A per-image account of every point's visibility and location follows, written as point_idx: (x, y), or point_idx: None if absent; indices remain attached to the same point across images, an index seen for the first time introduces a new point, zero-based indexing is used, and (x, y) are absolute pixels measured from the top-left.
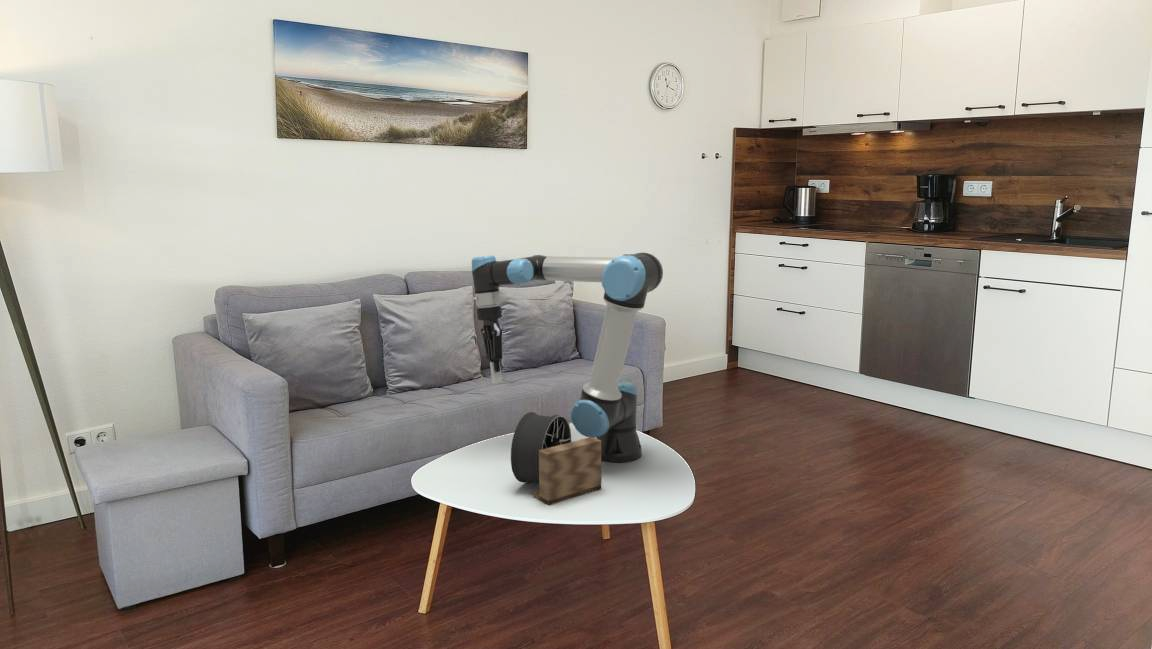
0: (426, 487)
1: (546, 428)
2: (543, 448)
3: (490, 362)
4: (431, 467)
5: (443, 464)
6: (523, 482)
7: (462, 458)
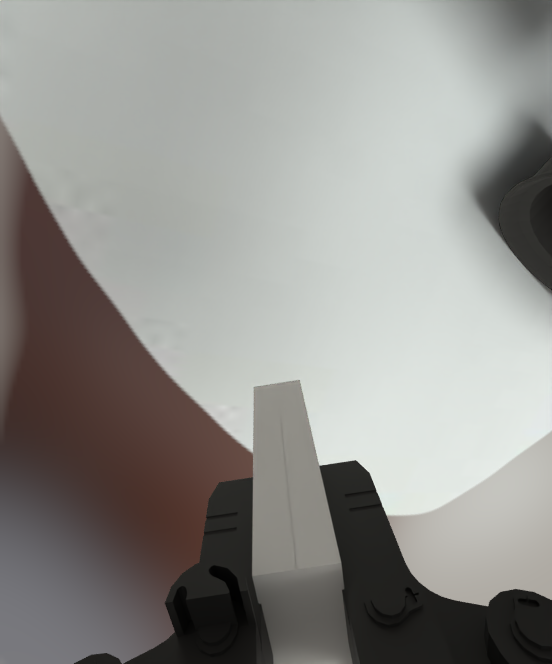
0: (445, 503)
1: None
2: (534, 183)
3: (297, 660)
4: None
5: None
6: (543, 279)
7: None
